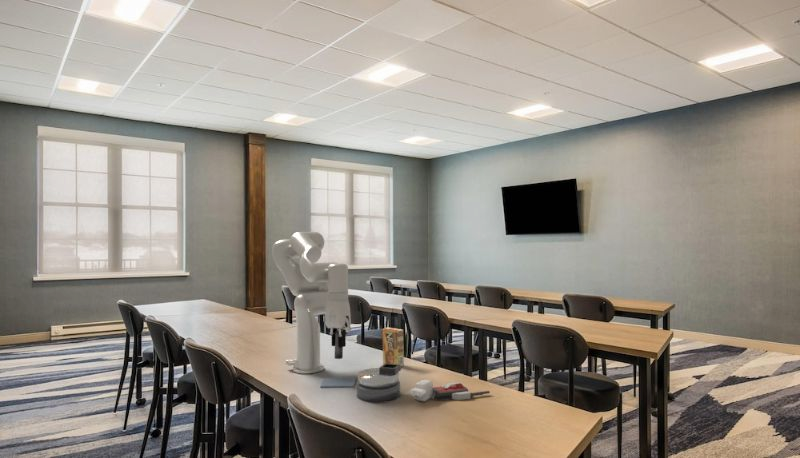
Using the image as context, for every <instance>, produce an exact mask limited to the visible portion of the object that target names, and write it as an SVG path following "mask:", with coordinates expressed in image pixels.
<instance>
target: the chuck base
mask: <svg viewBox="0 0 800 458" xmlns="http://www.w3.org/2000/svg"><path fill="white" fill-rule="evenodd" d="M400 397H401V382H400V381H399V383H398V384H397V385H396V386H394V387H390V388H384V389H370V388H364V387H361V386H360V385H358V381H357V382H356V398H357V399H358V400H360V401H361V402H362V401H363V402H366V403H374V404H375V403H376V404H377V403H387V402H389V403H390V402H392V401H396V400H397V399H399V398H400Z"/></svg>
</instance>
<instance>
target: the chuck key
mask: <svg viewBox="0 0 800 458" xmlns="http://www.w3.org/2000/svg"><path fill="white" fill-rule="evenodd" d="M342 331H343V329H342ZM338 337H339V329H338V330H336V331H335V346H334V359H336V360H341V359H342V360H343V357H344V351H343V350H344V347H341V348H339V347H338Z"/></svg>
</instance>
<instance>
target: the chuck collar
mask: <svg viewBox="0 0 800 458" xmlns="http://www.w3.org/2000/svg"><path fill="white" fill-rule="evenodd" d="M401 367H402V366H401V365H399V364H387V363H385V364H382V365H381V366H380V367H371V368H367V369H363V370H360V371H359V372H358V373H357V382H358V385H360V386H361V387H364V388H370V389H384V388H390V387H394V386H396V385H397V384H398V383H399V382H400V380H399V379H400V378H399V377H400V376H399V375H400V374H399V373H400V372H401V370H402V369H401Z"/></svg>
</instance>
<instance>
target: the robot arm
mask: <svg viewBox="0 0 800 458" xmlns="http://www.w3.org/2000/svg"><path fill="white" fill-rule="evenodd" d="M324 247H325V239H324V236H323V235H322V234H321V233H319V232H318V231H298V232H294V233H293V234H292V235H291V236H290V239H289V238H288V239H287V238H285V239H280V240H278V241H275V242H274V243H273V244H272V249H271V253H272V255H271V256H272V258H273V259H272V260H273V262H274V264H275V266H276V267H277V269H278V270H279V271H280V273H281V275H282V276H283V278H284V280H285V282H286V285H287V286H288V289H289V291H290V292H291V294H292V295H293V296H295V298H294V301H293V302H294V303H293V308H294V313H295V318H296V319H295V320H296V323H295V324H296V358H294V359H286V361H285V364H286V365H287V366H293V367H292V371H293V372H294V373H296V374H307V375H308V374H314V373H319V372H321V371H324V370H325V366H324V364H322V363H321V325H320V323H319V321H318V320H317V318H316V316H319V315H324V324H325V326H326V328H327V329H328V330H329V332H330V334H329V335H330V336H331V347H335V331H336V330H339V337H338V347H339V348H341V347H343V348H344V347H346V344H347V343H346V342H347V341H346V337H347V336H348V335H347V334H348V333H349V332H350V331H352V327H351V323H352V321H351V306H350V301H349V267H348V265H347V264H346V263H338V262H318V261H319V260H320V259H321V257H322V250H323V248H324ZM294 259H299V263H298V262H297V261H296V260H294ZM342 330H343V331H342Z"/></svg>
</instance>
